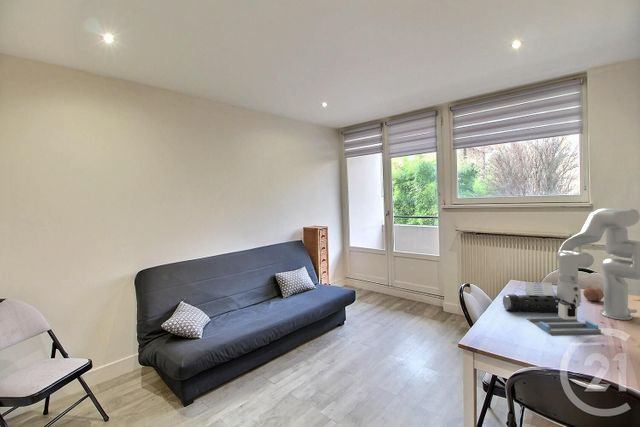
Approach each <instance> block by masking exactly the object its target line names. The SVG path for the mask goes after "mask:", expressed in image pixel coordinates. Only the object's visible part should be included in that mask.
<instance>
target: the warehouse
mask: <svg viewBox="0 0 640 427" xmlns="http://www.w3.org/2000/svg"><path fill="white" fill-rule="evenodd" d="M525 295H536V296H556V295H555V291H554V288H553V283H552V282H551V281H550V282H525Z"/></svg>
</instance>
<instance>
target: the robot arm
mask: <svg viewBox="0 0 640 427" xmlns="http://www.w3.org/2000/svg"><path fill="white" fill-rule="evenodd" d="M639 221H640V212H639V211H638V210H637V209H635V208H629V207H627V208H624V207H623V208H621V207H604V208H603V207H602V208H597V210H595V211H592V212H590V214H588V217H587V218H586V220H585V222H584V223H583V225H582V227H581V229H580V232H578V233H577V234H575V235H573V236H571V237H569V238H567V239H566V240H564V242H563V243H562V244H561V245H560V248H559V249H558V252H557V255H556V259H557V261H558V269H557V270H558V276H557V278H558V279H557V285H556V296H557V298H558V299H559V301H567V302H568V306H569V308H568V316H569V317H575V309H576V308H577V309H578V308H579V307H580V306H581V303H582V294H581V286H580V283H579V268H581V269H582V268H583V269H584V268H590V267H592V265H594V261H595V259H594V257H593V255H592V254H590V253H588V252H584V251H583V252H582V251H578V250H574V249H576V248H578V247H581V246H585V245H590V244H594V243H598V242H600V240H601V239H602V238H603V235H604V233H605V251H606V253H607V255H609V256H612V257H617V258H611V257H609V258H606V259H604V260H603V261H602V262H601V270H602V274H603V294H604V297H603V309H601V310H599V314H600V315H602V316H603V317H606V318H609V319H613V320H621V321H622V320H623V321H630V320H632V319H633V315H631V314H636V313H638V310H637V309H635V308H632V309H631V308H630V307H629V284H628V282H627V280H626V279H628V280H629V279H630V280H635V281H640V241H639V240H631V239H629V238H628V237H629V235H628V234H629V233H628V227H631V226H636V224H638V223H639ZM619 258H620V259H619ZM621 258H624V259H621ZM625 258H626V259H627V260H626V259H625ZM629 259H631V260H629ZM571 304H573V305H572V306H571Z"/></svg>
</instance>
